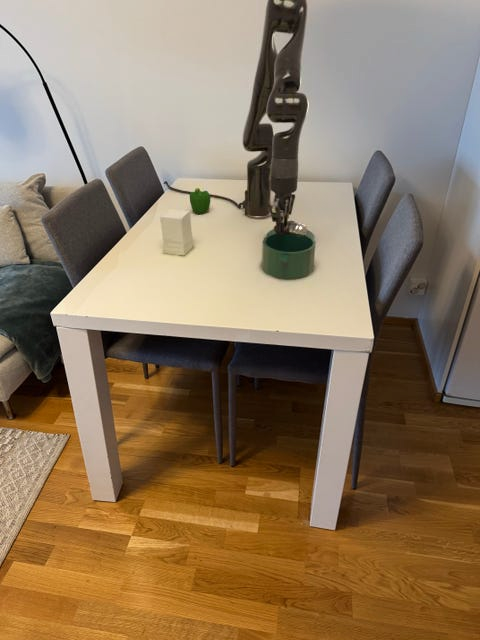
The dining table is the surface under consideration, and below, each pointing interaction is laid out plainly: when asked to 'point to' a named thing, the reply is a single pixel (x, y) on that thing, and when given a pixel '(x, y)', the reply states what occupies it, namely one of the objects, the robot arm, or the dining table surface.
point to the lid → (288, 226)
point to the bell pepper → (200, 201)
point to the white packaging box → (176, 232)
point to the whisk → (294, 230)
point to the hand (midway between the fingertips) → (281, 232)
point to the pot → (288, 256)
